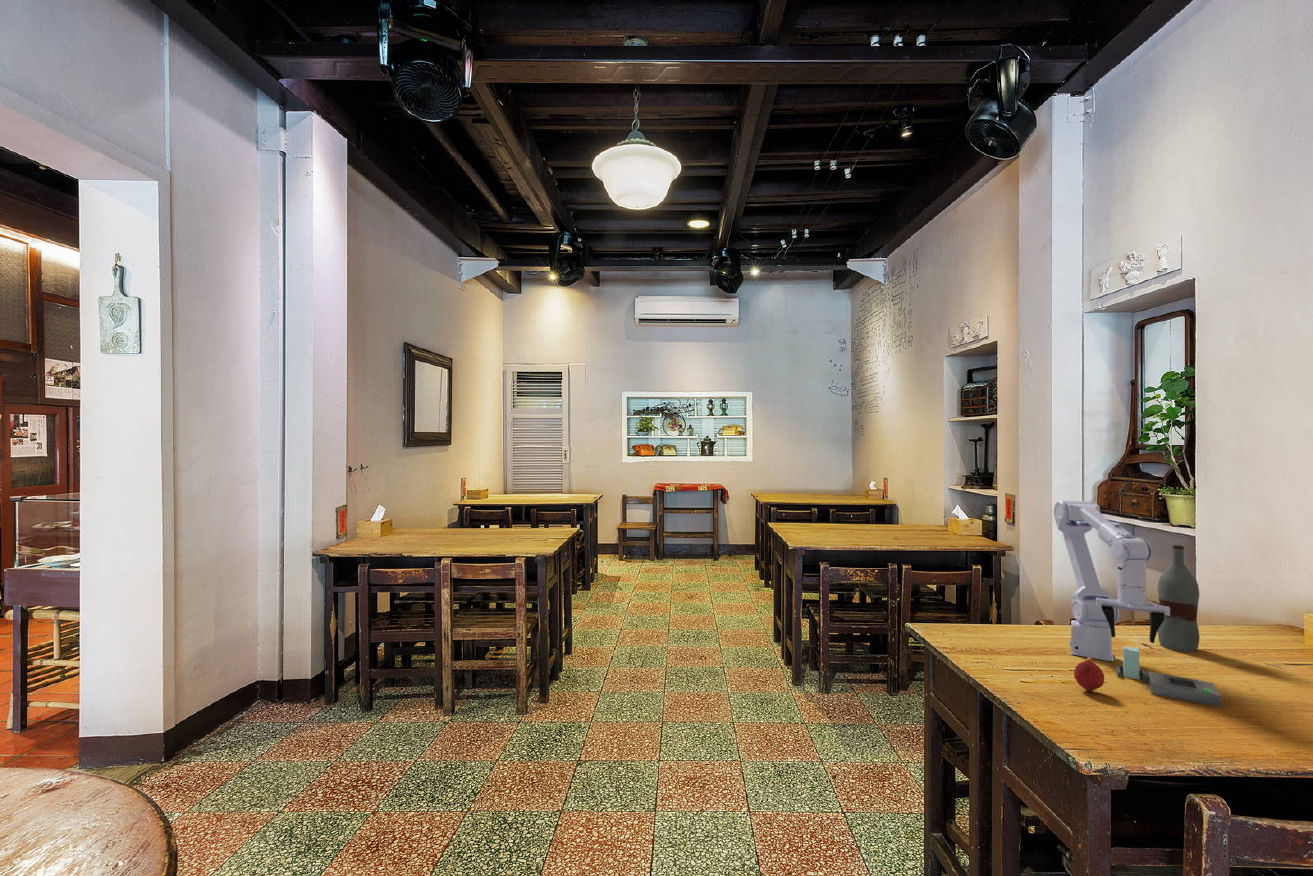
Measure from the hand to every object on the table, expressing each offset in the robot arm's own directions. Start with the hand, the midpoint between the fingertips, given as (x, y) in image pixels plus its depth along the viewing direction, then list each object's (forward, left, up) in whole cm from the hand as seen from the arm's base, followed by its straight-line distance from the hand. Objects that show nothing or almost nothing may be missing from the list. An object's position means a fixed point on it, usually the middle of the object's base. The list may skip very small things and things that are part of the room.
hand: (1132, 639), depth 149 cm
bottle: (+13, +37, -10) cm, 40 cm away
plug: (0, 0, -10) cm, 10 cm away
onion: (-9, -19, -10) cm, 23 cm away
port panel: (+9, -7, -10) cm, 14 cm away
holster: (0, 0, -10) cm, 10 cm away
